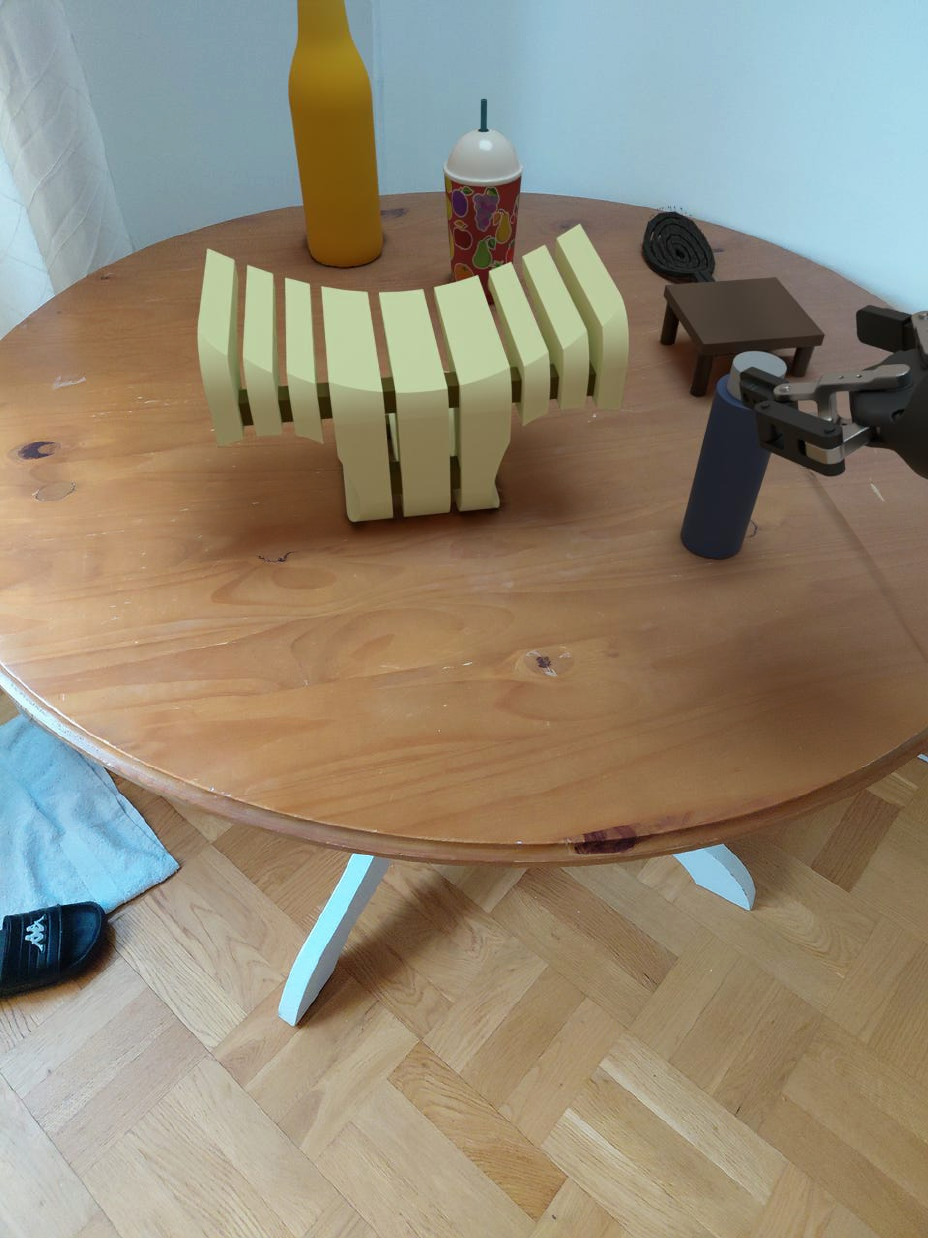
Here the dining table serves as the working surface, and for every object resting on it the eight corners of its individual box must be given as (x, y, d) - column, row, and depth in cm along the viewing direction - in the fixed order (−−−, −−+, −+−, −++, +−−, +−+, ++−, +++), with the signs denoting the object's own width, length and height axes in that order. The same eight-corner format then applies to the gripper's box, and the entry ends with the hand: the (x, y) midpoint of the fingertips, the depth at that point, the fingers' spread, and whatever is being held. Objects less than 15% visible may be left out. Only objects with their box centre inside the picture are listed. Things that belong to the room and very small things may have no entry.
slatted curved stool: (245, 551, 70) (194, 352, 57) (249, 437, 80) (207, 248, 67) (604, 515, 73) (634, 318, 60) (562, 409, 83) (579, 223, 70)
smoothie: (509, 273, 103) (516, 84, 88) (524, 306, 98) (534, 110, 83) (440, 279, 102) (436, 88, 87) (451, 312, 97) (449, 115, 82)
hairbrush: (691, 312, 91) (637, 205, 107) (684, 343, 93) (632, 234, 109) (767, 309, 91) (702, 202, 107) (758, 339, 94) (695, 231, 110)
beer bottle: (294, 251, 107) (252, -36, 86) (353, 229, 112) (326, -50, 90) (339, 276, 103) (306, -21, 81) (398, 252, 107) (381, -36, 86)
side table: (761, 330, 94) (776, 276, 89) (806, 389, 86) (825, 334, 81) (655, 338, 93) (665, 284, 88) (691, 399, 85) (703, 343, 80)
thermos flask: (729, 516, 73) (780, 343, 61) (751, 556, 69) (809, 381, 58) (672, 521, 72) (712, 348, 60) (691, 562, 69) (738, 387, 57)
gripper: (913, 568, 41) (715, 456, 54) (1147, 436, 43) (900, 357, 56) (911, 434, 37) (696, 346, 50) (1172, 291, 38) (897, 242, 51)
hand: (804, 352), depth 53 cm, fingers open, 8 cm apart
